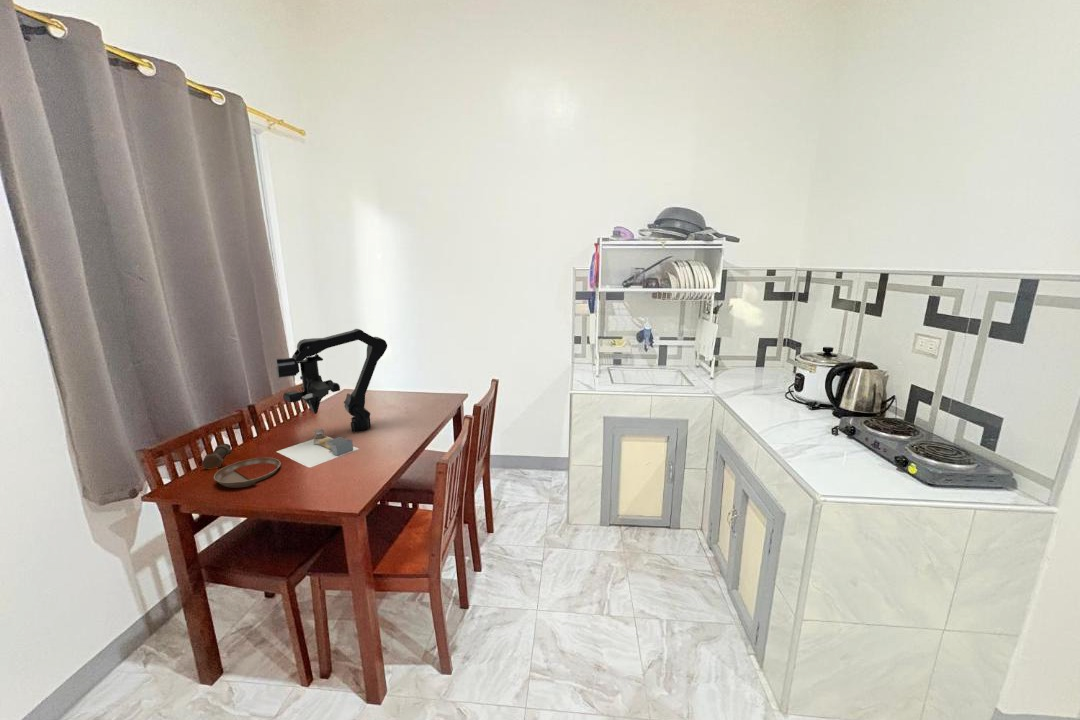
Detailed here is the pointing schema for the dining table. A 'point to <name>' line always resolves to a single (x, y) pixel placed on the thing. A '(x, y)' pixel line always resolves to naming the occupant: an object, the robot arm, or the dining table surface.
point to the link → (321, 439)
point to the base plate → (309, 453)
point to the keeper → (340, 446)
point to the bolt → (216, 456)
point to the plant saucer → (235, 479)
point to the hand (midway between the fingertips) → (315, 413)
